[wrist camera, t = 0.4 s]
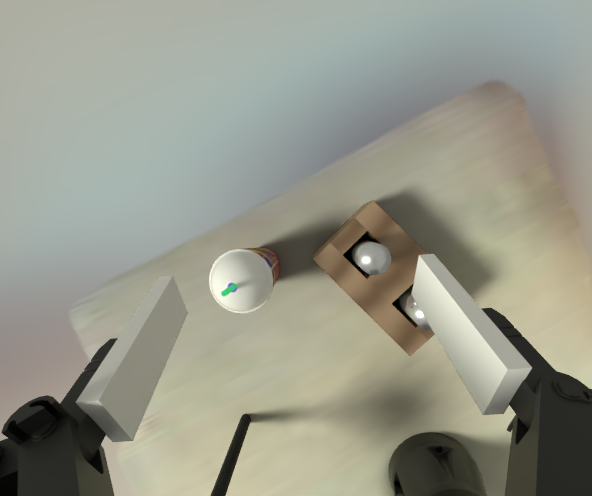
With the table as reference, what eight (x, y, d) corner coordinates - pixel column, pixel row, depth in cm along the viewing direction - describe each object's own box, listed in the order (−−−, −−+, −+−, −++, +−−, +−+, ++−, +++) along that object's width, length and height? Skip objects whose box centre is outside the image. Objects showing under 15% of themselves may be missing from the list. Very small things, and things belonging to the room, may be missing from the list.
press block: (445, 287, 46) (473, 300, 38) (394, 334, 47) (410, 356, 39) (363, 205, 46) (373, 200, 38) (313, 254, 47) (313, 259, 39)
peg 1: (382, 253, 41) (398, 259, 33) (363, 271, 41) (374, 281, 34) (364, 234, 41) (375, 236, 33) (345, 253, 41) (352, 259, 34)
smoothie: (269, 234, 47) (236, 238, 27) (294, 274, 48) (278, 308, 28) (230, 257, 48) (170, 279, 28) (254, 297, 48) (212, 346, 29)
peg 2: (429, 299, 41) (455, 315, 33) (409, 317, 41) (430, 337, 34) (410, 280, 41) (432, 293, 33) (391, 298, 41) (408, 315, 34)
